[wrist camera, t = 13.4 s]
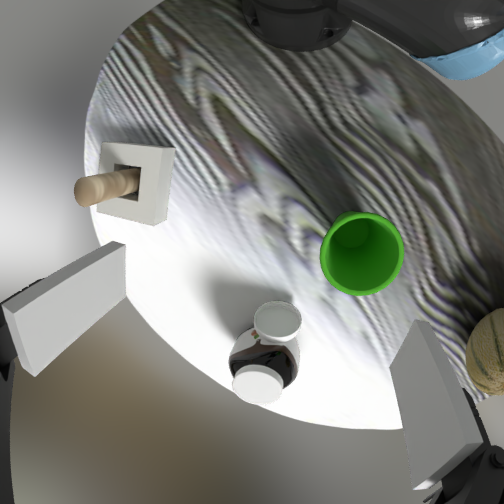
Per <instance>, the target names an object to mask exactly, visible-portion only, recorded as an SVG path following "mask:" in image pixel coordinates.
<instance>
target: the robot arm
mask: <svg viewBox="0 0 504 504" xmlns="http://www.w3.org/2000/svg"><path fill="white" fill-rule="evenodd" d="M242 10H243V15H244V17H245V20H246V22H247V23H248V25H249V27H250V28H251V30H252V31H253V32H254V33H255V34H256V35H257V36H258V37H259V38H260V39H262V40H263V41H265V42H266V43H268V44H270V45H272V46H274V47H277V48H280V49H284V50H289V51H298V52H304V51H314V50H319V49H323V48H326V47H328V46H330V45H332V44H334V43H336V42H337V41H339V40H340V39H341V38H342V37H343V36H344V35H345V34H346V33H347V31H348V30H349V28H350V26H351V23H352V20H354V21H356V22H358V23H360V24H362V25H363V26H365V27H367V28H369V29H371V30H372V31H374V32H376V33H378V34H379V35H381V36H383V37H384V38H386V39H388V40H389V41H391V42H392V43H394V44H396V45H397V46H399V47H400V48H402V49H403V50H405V51H406V52H408V53H409V55H410V56H411V57H412V58H414V59H415V60H418V61H421V62H423V63H425V64H426V65H428V66H429V67H430V68H432V69H433V70H435V71H436V72H438V73H439V74H440V75H442V76H444V77H446V78H448V79H454V80H467V79H471V78H474V77H477V76H479V75H481V74H483V73H485V72H487V71H489V70H490V69H492V68H493V67H495V66H496V65H497V64H498V63H500V62H501V61H502V60H503V59H504V0H242ZM125 249H126V245H125V244H121V243H118V242H115V241H112V242H110V243H108V244H106V245H104V246H102V247H100V248H98V249H96V250H95V251H93V252H91V253H89V254H87V255H85V256H83V257H81V258H80V259H78V260H76V261H74V262H72V263H71V264H69V265H67V266H65V267H63V268H62V269H60V270H58V271H57V272H55V273H53V274H51V275H50V276H48V277H46V278H43V279H39V280H37V281H35V282H34V283H32V284H30V285H29V287H25V288H24V289H22V291H19V292H17V293H15V294H14V295H12V296H11V297H9V298H7V299H6V300H4V301H3V302H1V303H0V504H15V503H14V498H13V497H14V496H13V488H12V478H11V466H10V465H11V464H10V412H11V398H12V387H13V378H14V371H15V363H14V360H13V359H14V358H15V357H16V356H18V357H19V360H20V362H21V365H22V367H23V368H24V369H25V370H27V371H28V372H29V373H30V374H32V375H33V376H36V375H38V374H39V373H40V372H41V371H42V370H43V369H44V368H45V367H46V366H47V365H48V364H49V363H50V362H52V361H53V360H54V359H55V358H56V357H57V356H58V355H59V354H60V353H61V352H62V351H64V350H65V349H66V348H67V347H68V346H69V345H70V344H71V343H73V342H74V341H75V340H76V339H77V338H78V337H79V336H80V335H81V334H83V333H84V332H85V331H86V330H87V329H88V328H89V327H91V326H92V325H93V324H94V323H95V322H96V321H97V320H99V319H100V318H101V317H102V316H103V315H104V314H106V313H107V312H108V311H109V310H110V309H111V308H113V307H114V306H115V305H116V304H117V303H119V302H120V301H121V300H122V299H123V298H125V297H126V286H125ZM389 368H390V372H391V376H392V380H393V384H394V388H395V393H396V397H397V401H398V406H399V411H400V415H401V420H402V425H403V431H404V435H405V442H406V447H407V453H408V460H409V466H410V474H411V482H412V490H416V489H427V488H431V487H432V486H433V485H435V484H436V483H437V482H439V481H440V480H441V481H442V487H441V488H440V489H438V490H437V491H435V492H434V493H433V494H431V495H430V496H428V497H427V498H426V499H425V500H424V501H423V502H424V503H425V502H427V501H428V500H430V499H431V498H432V500H431V502H430V503H429V504H504V450H503V449H502V448H501V447H499V446H496V445H494V446H491V444H490V441H489V438H488V435H487V433H486V430H485V428H484V425H483V423H482V420H481V418H480V417H479V413H478V410H477V409H476V406H475V403H474V401H473V399H472V397H471V396H470V394H469V393H468V392H467V391H466V390H465V388H462V387H461V385H460V383H459V381H458V379H457V376H456V374H455V372H454V370H453V368H452V366H451V364H450V362H449V360H448V358H447V356H446V354H445V352H444V350H443V348H442V346H441V344H440V342H439V340H438V338H437V337H436V335H435V333H434V331H433V329H432V327H431V325H430V324H429V322H425V321H420V320H414V322H413V324H412V326H411V328H410V330H409V332H408V334H407V336H406V338H405V340H404V342H403V344H402V346H401V348H400V349H399V351H398V353H397V355H396V357H395V358H394V360H393V362H392V364H391V365H390V367H389Z"/></svg>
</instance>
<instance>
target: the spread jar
mask: <svg viewBox="0 0 504 504" xmlns="http://www.w3.org/2000/svg"><path fill="white" fill-rule="evenodd" d="M301 320H302V319H301V314H300V312H299V311H298V309H297V308H296V307H295V306H293V305H292V304H290V303H287V302H284V301H270V302H267V303H265V304H263V305H261V306H260V307H259V308H258V309H257V310H256V312H255V315H254V327H252V328H250V329H248V330H247V331H245V332H244V333H243V334H241V335H240V337H239V338H238V339H237V340H236V342H235V344H234V346H233V349H232V351H231V353H230V356H229V368H230V371H231V374H232V376H233V378H234V379H233V382H232V387H233V390H234V392H235V393H236V395H237V396H239V397H240V398H241V399H242V400H244V401H246V402H249V403H251V404H256V405H267V404H271V403H274V402H275V401H277V400H278V399H279V398H280V397H281V395H282V390H283V389H284V388H286V387H287V386H289V385H290V384H291V383H292V382H293V381H294V380H295V378H296V376H297V373H298V370H299V362H300V350H299V345H298V342H297V339H296V337H295V336H296V335H297V334H298V332H299V330H300V327H301Z"/></svg>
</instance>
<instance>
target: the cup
mask: <svg viewBox="0 0 504 504" xmlns="http://www.w3.org/2000/svg"><path fill="white" fill-rule="evenodd" d="M403 257H404V245H403V241H402V238H401V235H400V233H399V232H398V230H397V228H396V227H395V226H394V225H393V224H392V223H391V222H390V221H389V220H388V219H386V218H384V217H382V216H380V215H378V214H374V213H370V212H355V211H348V212H344V213H342V214H341V215H339V216H338V217H337V218H336V220H335V221H334V223H333V226H332V227H331V228H330V229H329V230H328V232H327V234H326V235H325V237H324V239H323V242H322V245H321V248H320V264H321V269H322V271H323V273H324V275H325V277H326V278H327V280H328V281H329V282H330V284H331V285H333V286H334V287H335V288H337V289H338V290H339V291H342V292H344V293H346V294H350V295H356V296H363V295H370V294H373V293H377V292H378V291H380V290H382V289H384V288H385V287H387V286H388V285H389V284H390V283H391V282H392V281H393V280H394V278H395V277H396V276H397V274H398V273H399V270H400V268H401V266H402V263H403Z"/></svg>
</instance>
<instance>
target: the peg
mask: <svg viewBox="0 0 504 504" xmlns="http://www.w3.org/2000/svg"><path fill="white" fill-rule="evenodd" d="M140 176H141V167H139V168H132V169H126V170H120V171H114V172H109V173H103V174H98V175H93V176H88V177H83V178H80V179H78V180H77V182H76V184H75V187H74V194H75V199H76V201H77V203H78V204H79V205H80V206H82V207H88V206H91V205H94V204H97V203H100V202H103V201H106V200H110V199H113V198H116V197H119V196H123V195H126V194H130V193H133V192H137V191H139V186H140Z"/></svg>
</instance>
